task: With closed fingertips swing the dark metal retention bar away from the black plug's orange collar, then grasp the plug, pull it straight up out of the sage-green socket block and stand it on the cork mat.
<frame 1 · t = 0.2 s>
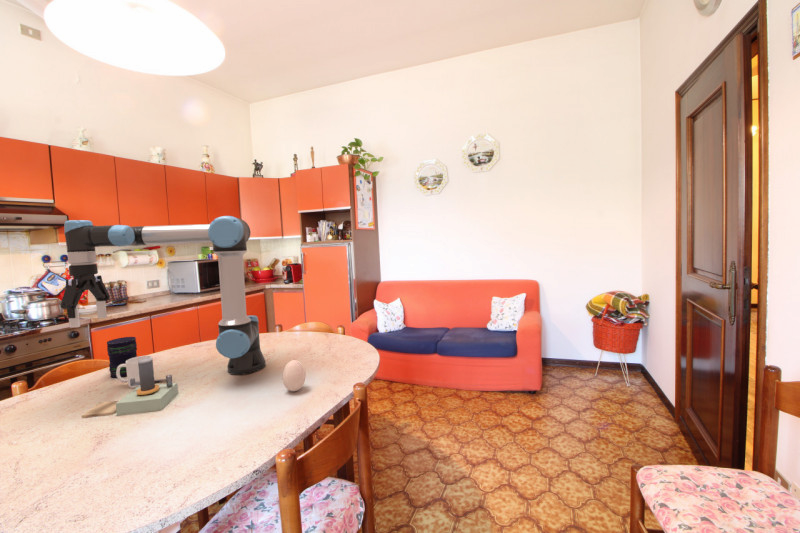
hand: (89, 322, 125), 28 cm above the table, fingers open, 13 cm apart
clip: (151, 382, 122), point 6 cm above the table, hinge at 0.0°
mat: (106, 409, 116), on the table
socket block: (149, 403, 120), on the table
plug: (147, 381, 119), in the socket block
egg: (295, 391, 126), on the table
cup: (135, 385, 137), on the table
storage jar: (125, 374, 148), on the table
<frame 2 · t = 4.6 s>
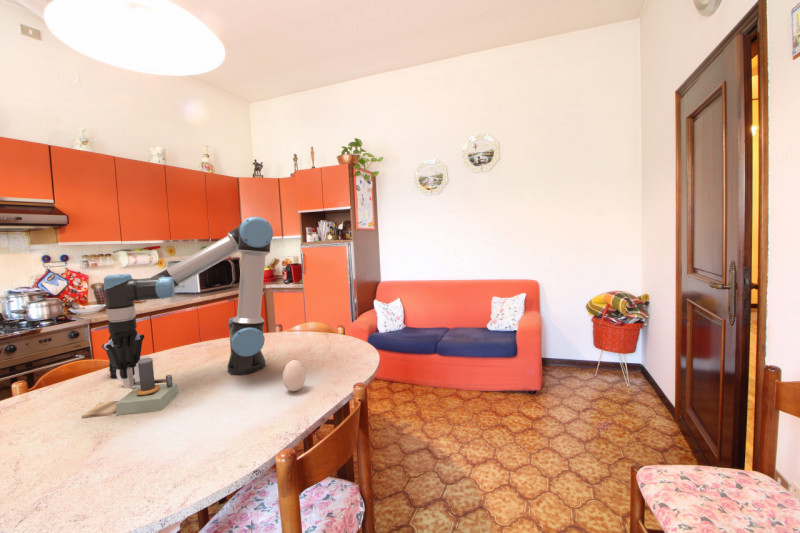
hand: (128, 386, 120), 6 cm above the table, fingers closed
clip: (151, 382, 122), point 6 cm above the table, hinge at -0.2°, touching gripper
everything else where it was.
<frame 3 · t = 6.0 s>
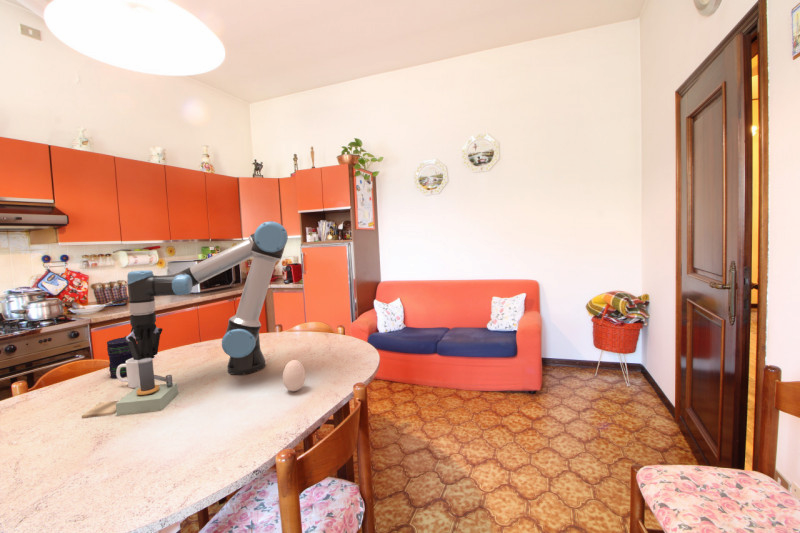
hand: (147, 376, 127), 7 cm above the table, fingers closed
clip: (159, 378, 126), point 6 cm above the table, hinge at -36.5°, touching gripper
everything else where it was.
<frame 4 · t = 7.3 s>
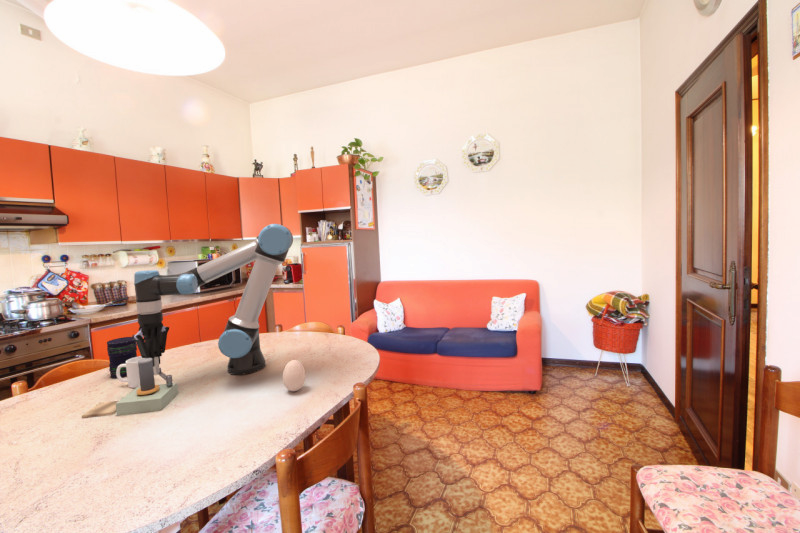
hand: (155, 374, 129), 7 cm above the table, fingers closed
clip: (164, 377, 127), point 6 cm above the table, hinge at -52.1°, touching gripper
everything else where it was.
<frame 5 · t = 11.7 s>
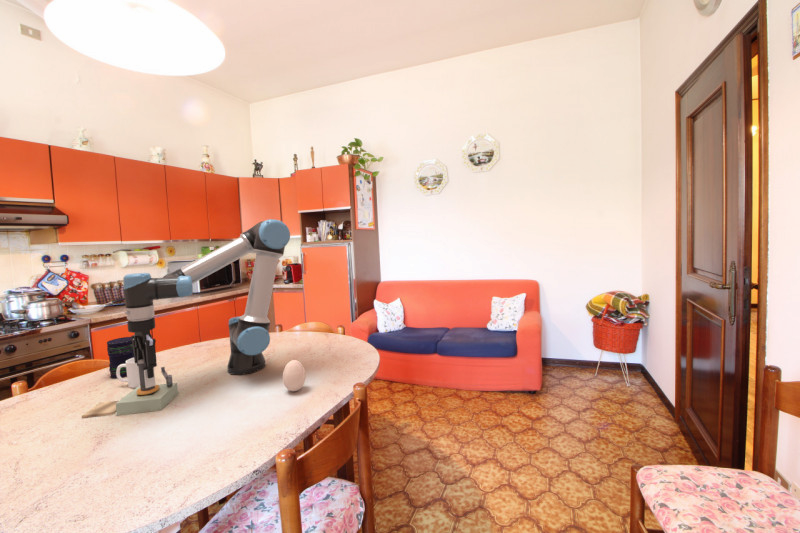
hand: (147, 385, 119), 7 cm above the table, fingers closed on plug, 4 cm apart
clip: (166, 376, 127), point 6 cm above the table, hinge at -58.0°
plug: (147, 381, 119), in the socket block, touching gripper
everything else where it was.
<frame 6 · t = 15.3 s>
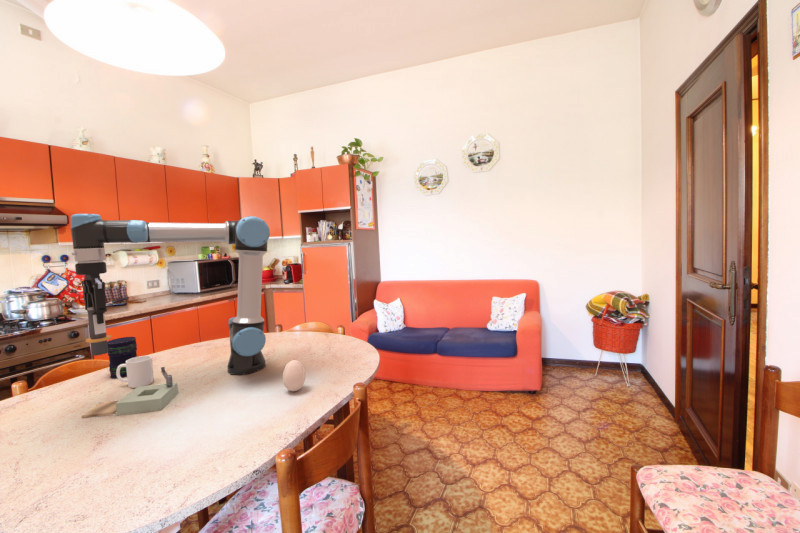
hand: (98, 332, 114), 27 cm above the table, fingers closed on plug, 4 cm apart
plug: (97, 330, 114), point 27 cm above the table, touching gripper
everything else where it was.
when the fingers open (8 cm above the table, at t = 18.9 s): plug stays where it is, resting on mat.
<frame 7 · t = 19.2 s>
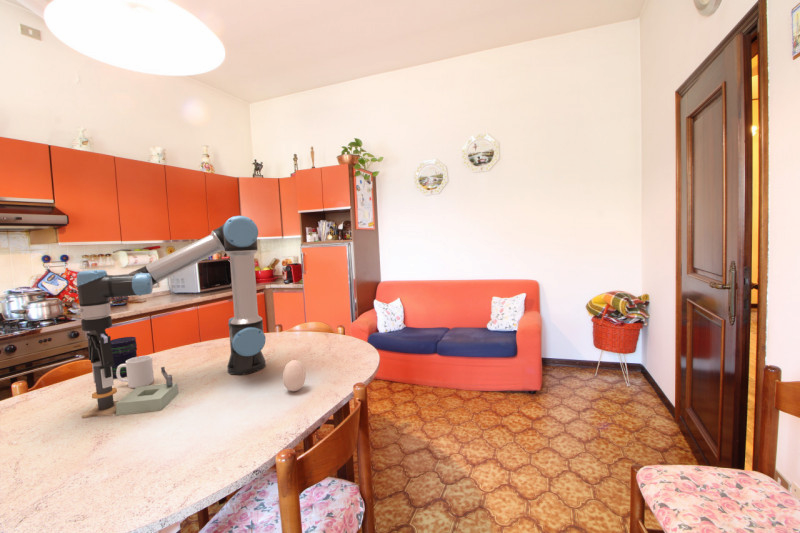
hand: (103, 383, 116), 9 cm above the table, fingers open, 8 cm apart
plug: (103, 384, 116), on the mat, point 9 cm above the table
everything else where it was.
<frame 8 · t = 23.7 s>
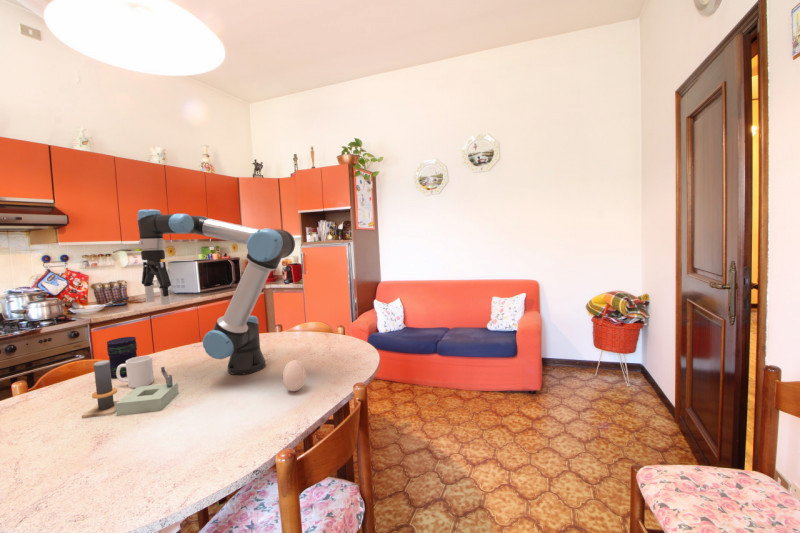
hand: (157, 303, 137), 32 cm above the table, fingers open, 13 cm apart
nothing on the table moved.
at the end: clip at -58° (first picture: +0°); plug inside the target area on the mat (0.0 cm from its centre), point 8.6 cm above the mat's base; plug tilted 1° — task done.
